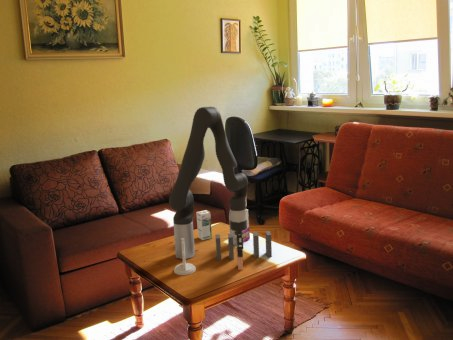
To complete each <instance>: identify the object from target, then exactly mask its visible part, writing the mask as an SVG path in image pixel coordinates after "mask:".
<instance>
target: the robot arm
mask: <svg viewBox="0 0 453 340" xmlns="http://www.w3.org/2000/svg"><path fill="white" fill-rule="evenodd" d="M208 129H210V131H211V133H212V135H213V138H214V145H215V148H214V149H215V155H216V158H217V161H218V163H219V166H220V167H221V170H222V177H223V184H224V186H225V189H227V190H228V191H229V192H231V193H233V194H232V195H231V196H230V198H229V214H230V225H229V230H230V229H231V230H233V231H235V232H234V236H235V241H236V245H235V246H236V247H235V248H236V252H237V251H238V257H242V258H243V256H244V255H243V254H244V252H243V250H244V243H245V242H244V241H243V237H244V234H243V230H245V229H247V214H246V209H247V206H246V203H247V202H246V198H247V195H248V189H249V180H248V176H247V175H246V174H245V173H242V172H240V173H239V172H238V173H235V169H236V168H237V167H238V163H237V160H236V158H235V155H234V153H233V152H232V149H231V147H230V143H229V140H228V137H227V133H226V130H225V127H224V123H223V119H222V115H221V113H220V111H219V109H218V108H216V107H215V106H203V107H199V108H197V109H196V111H195V112H194V115H193V119H192V124H191V129H190V134H189V138H188V141H187V144H186V148H185V151H184V152H183V153H184V154H183V157H182V159H181V164H180V167H179V170H178V173H177V178H176V181H175V182H174V186H173V188H172V190H171V192H170V194H169V196H168V202H169V206H170V208H171V209H172V210H173V211H175V214H174V215H173V219H172V220H173V234H174V235H173V236H174V252H175V259H181V260H183V258H182V241H181V238H184V244H185V259H186V260H187V259H191V258H194V257H195V256H196V252H195V251H196V249H195V237H194V235H195V233H194V221H193V220H194V219H193V218H194V215H195V201H194V195H193V192H192V190H190V188H191V186H192V184H193V183H194V181H195V179H197V176H198V174H199V173H200V171H201V169H202V166H203V164H204V160H205V153H206V152H205V146H204V140H205V137H206V133H207V131H208ZM240 245H241V247H239V246H240Z"/></svg>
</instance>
